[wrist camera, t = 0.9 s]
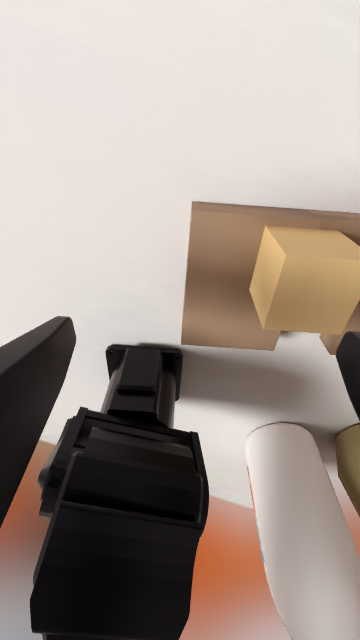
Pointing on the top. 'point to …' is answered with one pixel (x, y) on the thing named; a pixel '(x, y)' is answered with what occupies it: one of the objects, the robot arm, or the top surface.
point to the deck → (242, 272)
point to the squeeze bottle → (349, 463)
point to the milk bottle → (303, 535)
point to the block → (306, 280)
